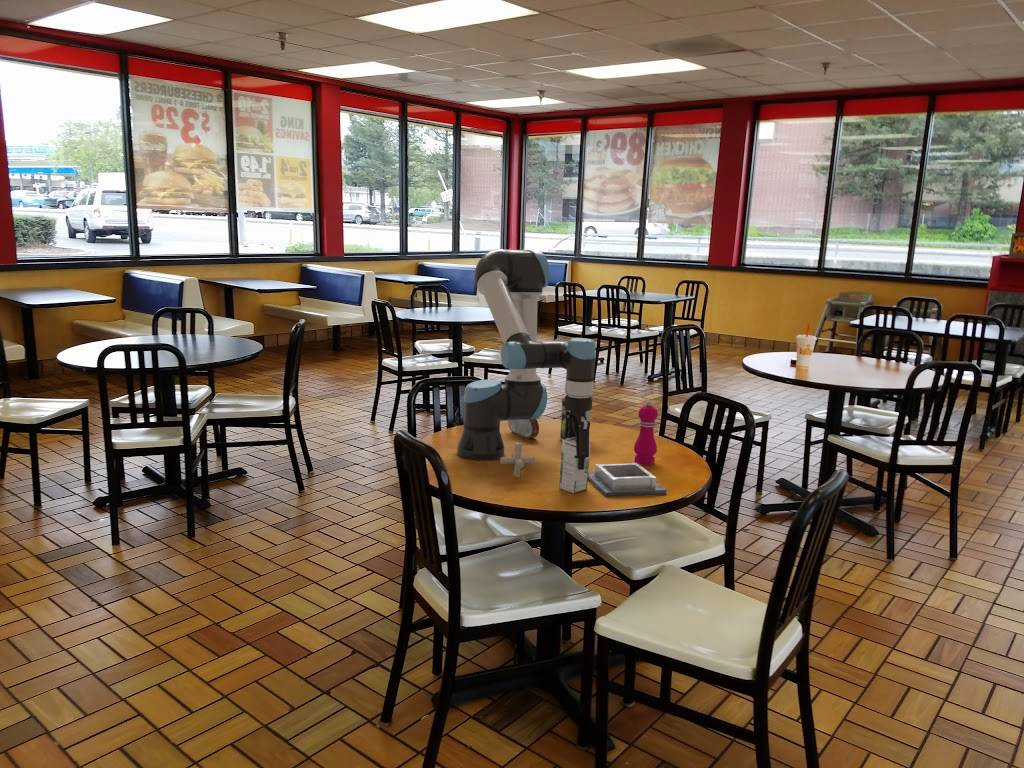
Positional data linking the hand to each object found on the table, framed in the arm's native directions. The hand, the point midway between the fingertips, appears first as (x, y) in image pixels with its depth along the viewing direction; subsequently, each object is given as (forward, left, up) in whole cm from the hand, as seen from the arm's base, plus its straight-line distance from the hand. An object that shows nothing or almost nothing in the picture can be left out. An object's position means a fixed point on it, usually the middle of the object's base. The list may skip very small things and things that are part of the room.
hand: (574, 475), depth 210 cm
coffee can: (+17, +50, -4) cm, 53 cm away
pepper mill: (+31, +22, -4) cm, 38 cm away
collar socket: (+16, +2, -4) cm, 17 cm away
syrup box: (0, 0, -4) cm, 4 cm away
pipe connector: (-13, +13, -4) cm, 19 cm away
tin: (0, +57, -4) cm, 57 cm away
